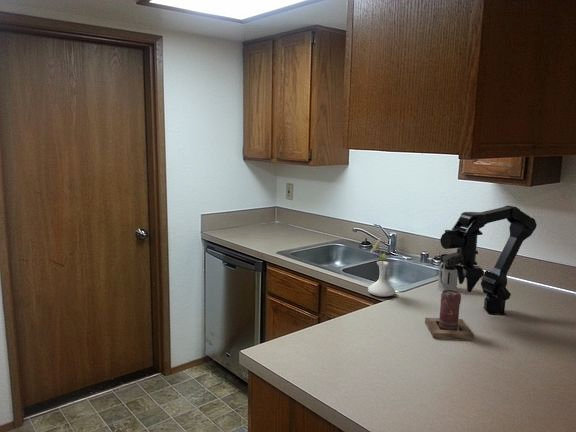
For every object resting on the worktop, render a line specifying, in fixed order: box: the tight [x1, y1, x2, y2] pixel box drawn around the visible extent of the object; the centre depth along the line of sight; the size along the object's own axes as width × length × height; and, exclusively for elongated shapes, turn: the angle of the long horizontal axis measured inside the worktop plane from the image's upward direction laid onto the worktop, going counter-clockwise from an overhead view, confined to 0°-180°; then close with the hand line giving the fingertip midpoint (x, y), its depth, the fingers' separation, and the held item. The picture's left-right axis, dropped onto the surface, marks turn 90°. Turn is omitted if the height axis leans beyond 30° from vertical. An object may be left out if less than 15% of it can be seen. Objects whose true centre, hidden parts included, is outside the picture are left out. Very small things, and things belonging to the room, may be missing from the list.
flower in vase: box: [367, 237, 396, 297], centre depth 193 cm, size 13×11×25 cm
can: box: [438, 290, 462, 331], centre depth 158 cm, size 6×6×14 cm
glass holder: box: [436, 253, 458, 292], centre depth 201 cm, size 9×14×15 cm, turn 140°
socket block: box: [424, 317, 475, 341], centre depth 159 cm, size 13×13×2 cm
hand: (464, 287), depth 172 cm, fingers open, 9 cm apart
